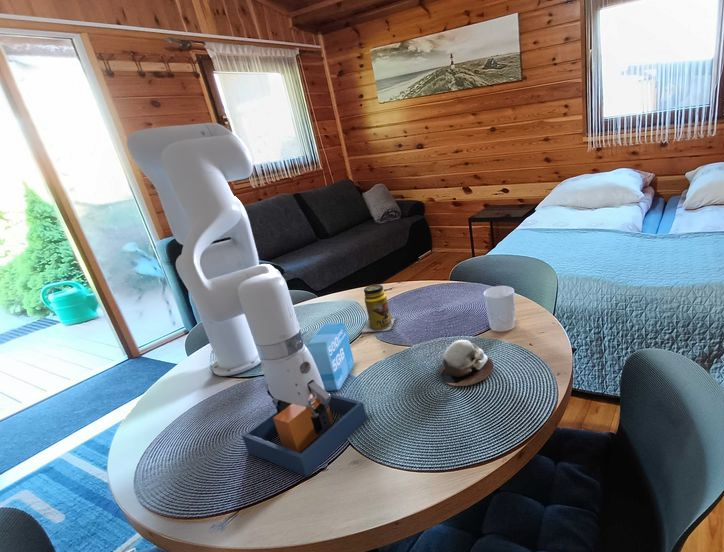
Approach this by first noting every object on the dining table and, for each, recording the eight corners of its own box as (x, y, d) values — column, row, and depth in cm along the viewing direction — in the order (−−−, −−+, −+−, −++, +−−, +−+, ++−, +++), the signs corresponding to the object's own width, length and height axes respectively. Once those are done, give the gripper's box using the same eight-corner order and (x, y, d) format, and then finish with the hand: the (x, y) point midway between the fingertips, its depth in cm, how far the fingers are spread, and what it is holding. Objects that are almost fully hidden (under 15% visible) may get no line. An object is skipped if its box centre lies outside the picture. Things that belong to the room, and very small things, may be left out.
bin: (248, 452, 80) (241, 435, 79) (311, 402, 93) (306, 387, 91) (306, 476, 73) (300, 458, 71) (367, 418, 85) (362, 402, 84)
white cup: (504, 316, 120) (501, 283, 116) (523, 325, 114) (520, 290, 110) (481, 326, 116) (477, 292, 112) (500, 336, 110) (496, 300, 106)
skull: (472, 345, 105) (485, 326, 96) (492, 383, 101) (507, 367, 93) (428, 361, 99) (438, 343, 91) (447, 403, 95) (459, 388, 87)
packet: (283, 448, 80) (272, 417, 77) (319, 418, 87) (310, 389, 85) (298, 454, 78) (287, 422, 75) (333, 422, 85) (325, 393, 83)
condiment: (390, 330, 121) (382, 290, 116) (360, 333, 121) (351, 293, 117) (395, 318, 127) (387, 281, 123) (367, 321, 128) (358, 284, 124)
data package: (338, 393, 95) (325, 345, 90) (318, 394, 95) (304, 347, 91) (354, 363, 106) (344, 319, 101) (337, 364, 106) (325, 321, 102)
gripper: (331, 340, 74) (353, 421, 80) (265, 328, 82) (290, 403, 89) (297, 363, 68) (324, 449, 74) (230, 347, 76) (259, 426, 83)
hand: (305, 424), depth 82 cm, fingers open, 8 cm apart
